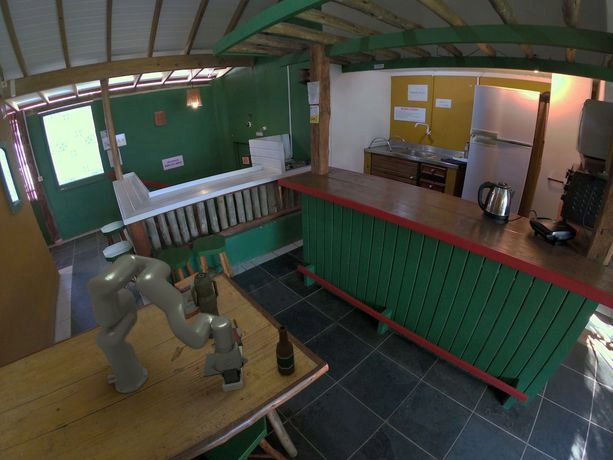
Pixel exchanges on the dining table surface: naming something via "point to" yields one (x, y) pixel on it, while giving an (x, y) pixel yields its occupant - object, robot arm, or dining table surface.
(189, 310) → the cracker box
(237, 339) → the walkie-talkie
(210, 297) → the thermos
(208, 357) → the mat
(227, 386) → the power strip
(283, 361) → the beer bottle
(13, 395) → the dining table surface
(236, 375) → the block
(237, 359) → the robot arm
